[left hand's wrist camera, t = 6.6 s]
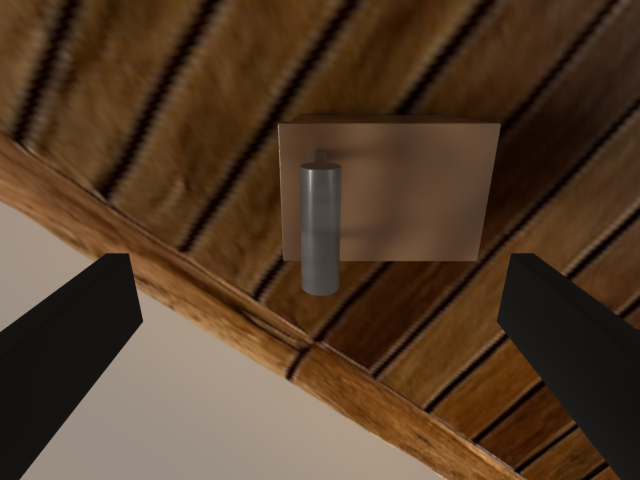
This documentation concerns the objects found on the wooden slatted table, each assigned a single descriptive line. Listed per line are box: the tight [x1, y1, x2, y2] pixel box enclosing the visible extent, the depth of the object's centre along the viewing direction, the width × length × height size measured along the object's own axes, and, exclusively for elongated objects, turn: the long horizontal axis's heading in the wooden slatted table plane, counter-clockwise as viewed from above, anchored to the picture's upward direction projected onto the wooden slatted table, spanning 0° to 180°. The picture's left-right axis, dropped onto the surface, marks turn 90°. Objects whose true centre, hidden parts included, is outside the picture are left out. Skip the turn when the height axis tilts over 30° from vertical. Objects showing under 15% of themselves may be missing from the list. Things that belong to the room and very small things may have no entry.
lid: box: [278, 122, 501, 296], centre depth 21 cm, size 14×9×8 cm
